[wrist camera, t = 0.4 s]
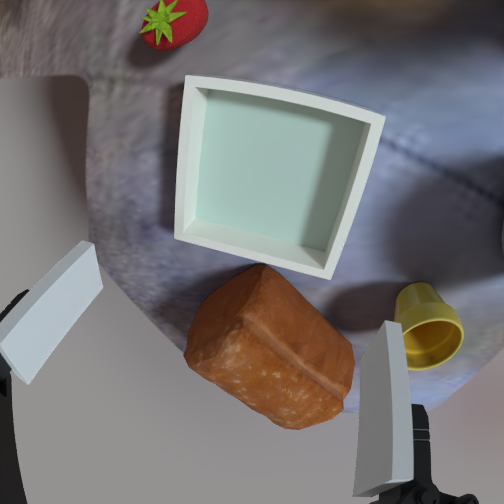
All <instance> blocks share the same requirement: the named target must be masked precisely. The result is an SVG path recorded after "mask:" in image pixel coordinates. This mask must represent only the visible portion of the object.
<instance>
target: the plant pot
mask: <svg viewBox="0 0 504 504" xmlns="http://www.w3.org/2000/svg"><path fill="white" fill-rule="evenodd" d="M394 322H396V323H401V327H402V333H403V339H404V346H405V353H406V360H407V368H408V370H426V369H430V368H433V367H436V366H438V365H440V364H442V363H444V362H446V361H447V360H449V359H450V358H451V357H452V356H453V355H454V354H455V353H456V352H457V351H458V349H459V348H460V346H461V344H462V342H463V338H464V331H463V328H462V325H461V322H460V320H459V317H458V315H457V313H456V312H455V310H454V309H453V308H452V307H451V306H449V305H447V304H445V302H444V301H443V300H442V298H441V297H440V296H439V294H438V293H437V292H436V290H435V289H434V288H433V287H432V286H431V285H430V284H428V283H424V282H418V283H413V284H410V285H408V286H407V287H405V288H404V289H403V290H402V291H401V292H400V293H399V294H398V296H397V298H396V303H395V315H394Z"/></svg>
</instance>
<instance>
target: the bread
mask: <svg viewBox="0 0 504 504" xmlns="http://www.w3.org/2000/svg"><path fill="white" fill-rule="evenodd" d="M184 358H185V360H186V362H187V364H188V366H189V367H190V368H191V369H192V370H194V371H195V372H196V373H198V374H199V375H201V376H202V377H203V378H205V379H206V380H208V381H210V382H212V383H214V384H216V385H217V386H219V387H220V388H221V389H223V390H224V391H225V392H227V393H229V394H230V395H232V396H234V397H235V398H237V399H239V400H240V401H241V402H243V403H244V404H245V405H247V406H248V407H249V408H251V409H252V410H254V411H256V412H258V413H260V414H262V415H264V416H266V417H267V418H268V419H270V420H271V421H272V422H273V423H275V424H276V425H279V426H281V427H283V428H285V429H297V430H300V429H303V428H306V427H310V426H313V425H316V424H319V423H322V422H325V421H328V420H331V419H332V418H334V417H335V416H336V415H337V414H339V413H340V412H341V411H342V410H344V407H343V399H344V398H345V397H346V396H347V394H348V393H349V391H350V389H351V384H352V378H353V372H354V365H355V360H354V355H353V350H352V345H351V343H350V342H349V341H348V340H347V339H346V338H345V337H344V336H343V335H342V334H341V333H340V332H339V331H338V330H337V329H336V328H335V327H334V326H333V325H332V324H331V323H330V322H329V321H328V320H327V319H326V318H325V317H324V316H323V315H322V314H321V313H320V312H319V311H318V310H317V309H315V308H314V307H313V306H312V305H311V304H310V303H309V302H308V301H307V300H306V299H305V298H304V297H303V296H302V295H301V294H300V293H299V292H298V291H297V290H296V289H295V288H294V287H293V286H292V285H291V284H290V283H289V282H288V281H287V280H286V279H285V278H284V277H283V276H282V275H281V274H280V273H278V272H277V271H275V270H274V269H273V268H271V267H270V266H268V265H266V264H256V265H254V266H253V267H251V268H249V269H247V270H246V271H244V272H242V273H240V274H238V275H237V276H235V277H233V278H232V279H230V280H229V281H228V282H226V283H225V284H223V285H222V286H221V287H219V288H218V289H216V290H215V291H214V292H213V293H212V294H211V295H210V296H209V297H208V298H207V299H206V300H205V301H204V302H203V303H202V304H201V305H200V307H199V309H198V312H197V314H196V316H195V318H194V320H193V323H192V325H191V327H190V329H189V334H188V341H187V347H186V350H185V352H184Z"/></svg>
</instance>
